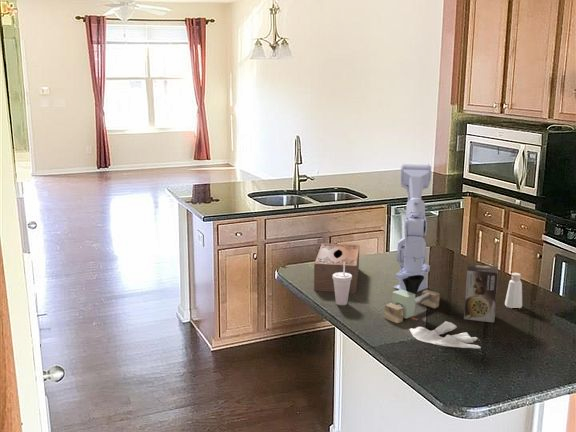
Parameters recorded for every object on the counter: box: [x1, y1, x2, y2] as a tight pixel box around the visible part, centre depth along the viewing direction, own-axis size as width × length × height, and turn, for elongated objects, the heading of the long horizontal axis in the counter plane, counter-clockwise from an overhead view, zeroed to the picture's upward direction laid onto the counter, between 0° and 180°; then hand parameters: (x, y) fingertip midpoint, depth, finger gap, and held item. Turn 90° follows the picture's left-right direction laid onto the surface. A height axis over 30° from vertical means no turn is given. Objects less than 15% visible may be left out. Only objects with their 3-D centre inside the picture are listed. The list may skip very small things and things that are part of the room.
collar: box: [391, 289, 416, 319], centre depth 188 cm, size 4×6×7 cm
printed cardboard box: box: [463, 263, 499, 324], centre depth 187 cm, size 9×6×16 cm
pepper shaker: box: [504, 272, 523, 309], centre depth 197 cm, size 5×5×11 cm
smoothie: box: [332, 262, 352, 306], centre depth 198 cm, size 6×6×14 cm
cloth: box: [409, 320, 482, 349], centre depth 176 cm, size 20×22×2 cm
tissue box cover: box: [313, 242, 360, 294], centre depth 222 cm, size 26×14×10 cm, turn 171°
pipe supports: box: [384, 289, 440, 324], centre depth 192 cm, size 21×10×4 cm, turn 131°
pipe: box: [389, 293, 431, 314], centre depth 192 cm, size 21×2×2 cm, turn 131°
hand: (411, 297), depth 191 cm, fingers closed
